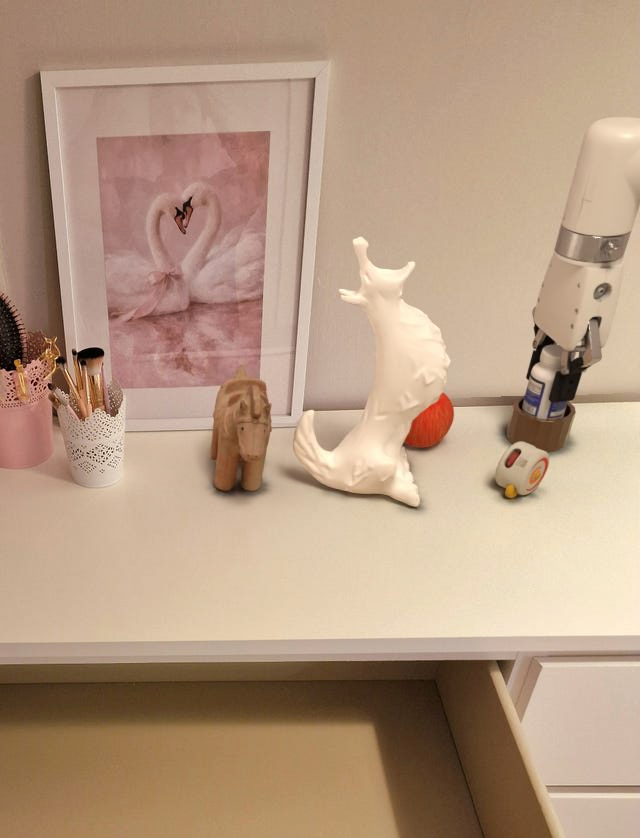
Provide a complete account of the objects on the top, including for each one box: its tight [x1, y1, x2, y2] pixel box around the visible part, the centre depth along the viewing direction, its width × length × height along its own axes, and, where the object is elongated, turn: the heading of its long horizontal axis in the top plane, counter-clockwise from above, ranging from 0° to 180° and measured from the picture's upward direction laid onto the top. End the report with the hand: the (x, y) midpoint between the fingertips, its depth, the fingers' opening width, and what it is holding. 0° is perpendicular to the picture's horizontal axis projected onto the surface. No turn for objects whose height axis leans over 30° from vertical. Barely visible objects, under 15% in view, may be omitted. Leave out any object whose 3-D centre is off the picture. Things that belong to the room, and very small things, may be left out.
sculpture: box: [292, 236, 452, 508], centre depth 100 cm, size 11×17×30 cm
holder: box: [505, 394, 577, 453], centre depth 115 cm, size 8×8×4 cm
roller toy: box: [494, 441, 550, 499], centre depth 106 cm, size 4×6×6 cm
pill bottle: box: [522, 344, 577, 420], centre depth 112 cm, size 5×5×9 cm
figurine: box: [209, 364, 273, 492], centre depth 107 cm, size 7×18×15 cm, turn 3°
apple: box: [403, 391, 455, 448], centre depth 115 cm, size 8×8×8 cm
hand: (549, 388), depth 112 cm, fingers closed on pill bottle, 5 cm apart
